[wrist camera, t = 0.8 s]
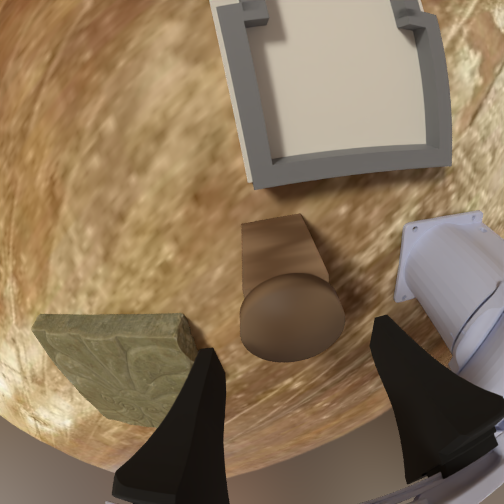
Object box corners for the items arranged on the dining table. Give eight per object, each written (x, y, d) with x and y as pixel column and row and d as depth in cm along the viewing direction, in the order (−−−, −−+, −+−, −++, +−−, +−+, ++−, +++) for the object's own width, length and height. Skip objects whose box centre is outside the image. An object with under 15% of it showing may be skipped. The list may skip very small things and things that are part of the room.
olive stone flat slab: (110, 404, 34) (105, 423, 31) (38, 310, 23) (24, 332, 20) (228, 410, 33) (227, 432, 30) (190, 306, 23) (185, 337, 20)
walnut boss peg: (306, 205, 18) (347, 279, 11) (312, 266, 21) (342, 351, 14) (232, 218, 18) (228, 301, 11) (247, 278, 21) (250, 368, 14)
